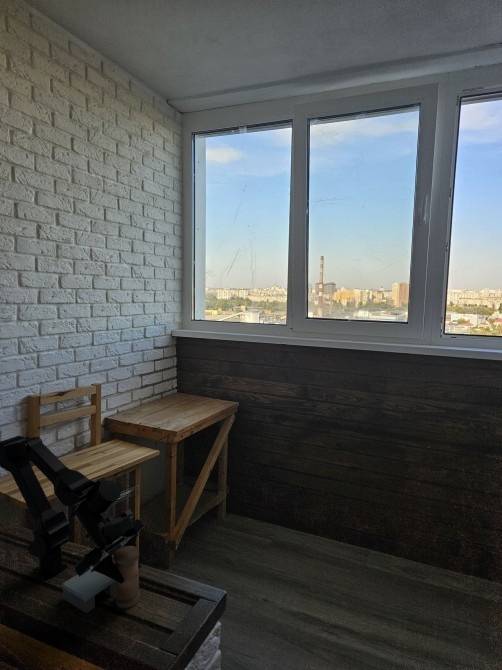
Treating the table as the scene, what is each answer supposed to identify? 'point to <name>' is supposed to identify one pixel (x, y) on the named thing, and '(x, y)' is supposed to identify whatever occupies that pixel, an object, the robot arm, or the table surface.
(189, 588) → the table surface
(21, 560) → the table surface
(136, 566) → the brown flanged cylinder
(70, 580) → the grey bridge block
